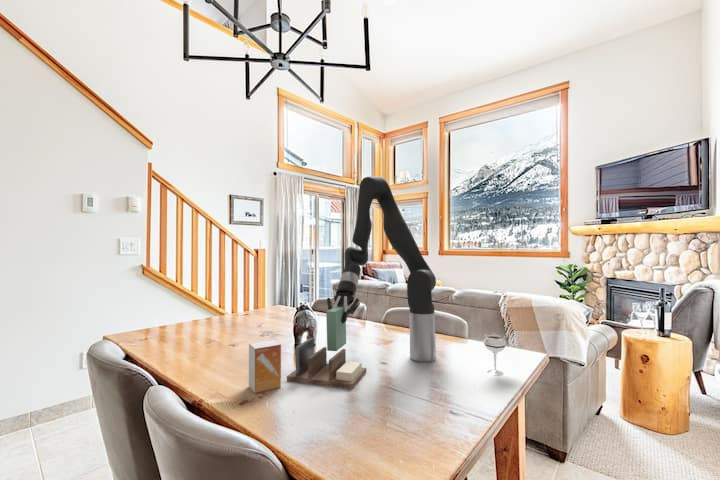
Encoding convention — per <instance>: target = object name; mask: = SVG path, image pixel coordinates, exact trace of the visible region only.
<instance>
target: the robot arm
mask: <svg viewBox="0 0 720 480" xmlns="http://www.w3.org/2000/svg"><path fill="white" fill-rule="evenodd" d="M360 181H361V182H360V183H359V188H358V197H357V198H358V200H357V213H356V220H355V221H356V222H355V227H354V231H353V235H352V240H351V241H352V243H353V244H354V245H356V246H357V247H354V246H349V247H347V248H346V249H345V251H344V269H343V272H342V275H341V277H340V279H339V283H338V286H337V289H336V293H335V295H334V296H333V297H332V298H331V297H327V298H326V302H327V311H328V310H330V309H332V308H335V307H345V308H344V312H343V315H342V319H341V321H342V323H345V322H347V319H348V316H349V315H350V314H351V315H353V314H354V313H355V312H356V310H357V309H358V308H359V306H360V305H361V301H360V299H359V297H358V298H355V297H356V293H357V288H358V286H359V280H360V276H361V269H362V268H361V267H360V266H365V265H367V263H368V261H369V240H370V237H371V233H372V228H373V227H372V226H373V225H372V219H371V214H370V213H371V212H370V211H371V210H370V209H371V207H372V203H373V200H376V201H377V202H378V204H379V206H380V209H381V210H382V214H383V218H382V220H383V222H382V223H383V225H382V226H383V231H384V234H385V236H386V238H387V240H388V242H389V244H390V246H391V247H392V249H393V250H394V251H395V252H396V253H397V254H398V255H399V257H400V258H401V259H402V260H403V262H404V264H405V265H406V267H407V268H408V271H409V274H408V277H407V281H406V292H407V293H406V294H407V305H408V309H409V358H410V359H411V360H413V361H416V362H421V363H422V362H423V363H426V362H435V360H436V354H437V353H436V352H437V349H436V330H435V329H436V328H435V305H434V304H433V298H432V296H433V295H432V294H433V293H432V291H433V290H434V289H435V287H436V283H437V280H436V279H437V278H436V276H435V274H434V272H433V270H432V269H431V268H430V267H429V265H428V263H427V262H426V260H425V257H423V255H422V253H421V251H420V249H419V247H418V244H417V242H416V240H415V238H414V236H413V234H412V231H411V230H410V227H409V226H408V224H407V222H406V220H405V219H404V217H403V215H402V213H401V211H400V209H399V207H398V204H397V202H396V200H395V197H394V195H393V193H392V190H391V187H390V185H389V183H388V181H387V179H385V178H384V177H382V176H365V177H363V178H362V180H360ZM358 247H359V248H358ZM350 305H351V306H350Z"/></svg>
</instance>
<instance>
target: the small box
mask: <svg viewBox="0 0 720 480" xmlns="http://www.w3.org/2000/svg"><path fill="white" fill-rule="evenodd" d="M281 351H282V344H281V343H280V342H278V341H277V340H275V339H272V340H265V341H258V342H253V343H248V387H249V389H250V390H251V392H253V393H254V394H257V393H261V392H264V391H269V390H270V391H271V390H274V389H278V388H279V389H280V388H281V386H282V385H281V384H282V352H281Z"/></svg>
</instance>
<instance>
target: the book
mask: <svg viewBox="0 0 720 480" xmlns="http://www.w3.org/2000/svg"><path fill="white" fill-rule="evenodd" d="M344 308H345V307H335V308H333V307H332V309H330V310H328V309H327V310H326V311H325V313H326V352H327V351H329V352H338V351H340V349H342V347H344V346H345V345H346V344H347V324H346V322H347V321H346V322H345V323H342V321H341V319H342V315H343V312H344Z"/></svg>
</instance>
